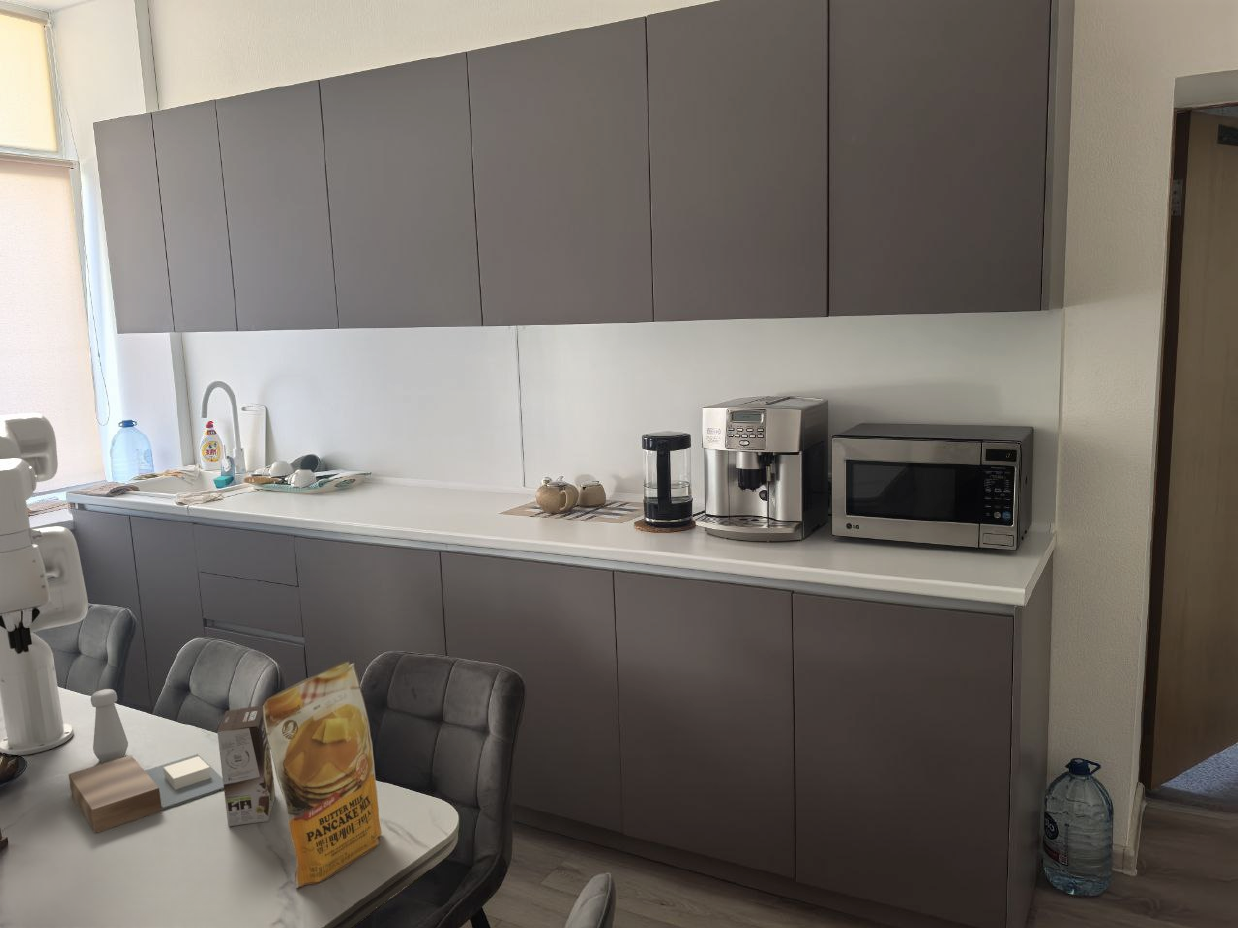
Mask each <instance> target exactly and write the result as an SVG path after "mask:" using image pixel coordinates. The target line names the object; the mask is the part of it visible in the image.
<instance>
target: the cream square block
mask: <svg viewBox="0 0 1238 928" xmlns="http://www.w3.org/2000/svg"><path fill="white" fill-rule="evenodd" d="M199 756H200V755H199ZM199 756H198V757H194V758H191V759H188V760H185V761H182V762H179V763H175V764H172V765H169V766H166V767H163V768H164V776H165V779H166V780H167V781H168V782H169V783H170V784H171V786H172V787H173V788H174V789H175V790H176V789H179V788H182V787H185V786H188V785H191V784H194V783H197V782H200V781H203V780H206V779H209V778H211V773H210V767H211V766H210V765H209V764H208V763H207V762H206V761H205V760H204V759H203V758H202V757H201V756H200V757H201V758H202V759H203V760H204V761H205V762H206V763H207V764H208V765H209V766H210V767H209V766H208V765H207V764H206V763H205V762H204V761H203V760H202V759H201V758H200V757H199Z"/></svg>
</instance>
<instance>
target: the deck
mask: <svg viewBox="0 0 1238 928" xmlns="http://www.w3.org/2000/svg"><path fill="white" fill-rule="evenodd" d="M68 778H69V779H68V781H69V787H70V794H71V797H72V799H73V800H74V802H75V804H76V805H77V807H78V808H79V810H80V811H81V813H82V814H83V816H84V817H85V820H86V821H87V822H88V823H89V825H90V827H91V828H92V830H93V832H94V833H95V834H97V833H101V832H104V831H106V830H109V829H112V828H115V827H118V826H120V825H123V824H126V823H129V822H133V821H135V820H138V819H141V818H144V817H147V816H150V815H153V814H156V813H158V812H162V811H163V809H162V806H161V798H160V791H159V787H158V786H157V785H156V784H155V782H154V781H153V780H152V779H151V778H150V777H149V775H148V774H147V773H146V772H145V769H144V768H143V767H142V765H140V764H139V762H138V761H137V760H136V759H135V758H134V756H133V755H132V754H130V755H127V756H126V755H125V756H124V757H123V758H120V759H116V760H113V761H110V762H106V763H100V764H97V765H94V766H91V767H87V768H83V769H80V770H77V771H73V772H70V773H68Z"/></svg>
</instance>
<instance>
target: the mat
mask: <svg viewBox="0 0 1238 928" xmlns="http://www.w3.org/2000/svg"><path fill="white" fill-rule="evenodd" d="M198 756H199V757H200V758H201V759H202V760H203V761H204V762H205V763H206V764H207V765H208V766H209V767H210V773H211V778H209V779H206V780H203V781H200V782H197V783H194V784H191V785H188V786H185V787H182V788H179V789H176V790H175V789H174V788H173V787H172V786H171V784H170V783H169V782H168V781H167V780H166V779H165V776H164V768H163V767H166V766H169V765H172V764H175V763H179V762H182V761H185V760H188V759H191V758H194V757H198ZM144 771H145V772H146V773H147V774H148V775H149V777H150V778H151V779H152V780H153V781H154V782H155V784H156V785H157V786H158V787H159V791H160V798H161V806H162V811H164V810H167V809H171V808H174V807H176V806H179V805H182V804H183V805H184V804H186V803H189V802H190V801H194V800H197V799H199V798H198V797H200V798H202V797H201V796H203V797H206V796H208V794H209V795H212V794H215V793H217V792H216V791H218V792H220V791H219V790H221V791H223V790H222V789H224V785H223V777H222V776H221V775H220V774H219V773H218V772H217V771H216V770H215V769H214V768H213V767H211V765H210V764H209V763H208V762H207V761H206V760H205V759H204V758H203V757H202V756H201V755H200V754H199V753H196V754H193V755H189V756H187V757H183V758H181V759H178V760H174V761H171V762H167V763H164V764H162V765H158V766H155V767H152V768H148V769H144ZM214 792H215V793H214ZM211 793H212V794H211ZM196 798H197V799H196ZM193 799H194V800H193Z"/></svg>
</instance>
